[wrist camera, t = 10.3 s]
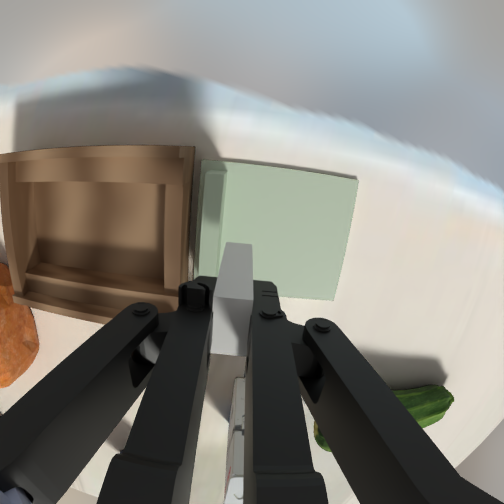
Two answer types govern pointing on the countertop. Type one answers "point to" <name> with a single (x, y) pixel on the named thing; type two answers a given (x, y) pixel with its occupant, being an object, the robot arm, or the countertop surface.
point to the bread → (14, 333)
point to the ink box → (235, 446)
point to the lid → (276, 224)
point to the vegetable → (413, 407)
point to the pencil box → (97, 227)
